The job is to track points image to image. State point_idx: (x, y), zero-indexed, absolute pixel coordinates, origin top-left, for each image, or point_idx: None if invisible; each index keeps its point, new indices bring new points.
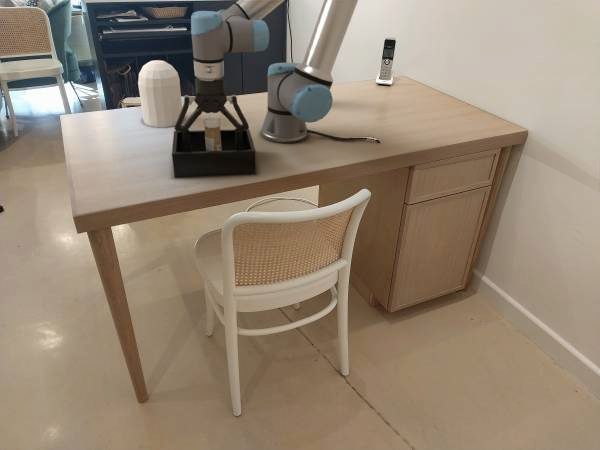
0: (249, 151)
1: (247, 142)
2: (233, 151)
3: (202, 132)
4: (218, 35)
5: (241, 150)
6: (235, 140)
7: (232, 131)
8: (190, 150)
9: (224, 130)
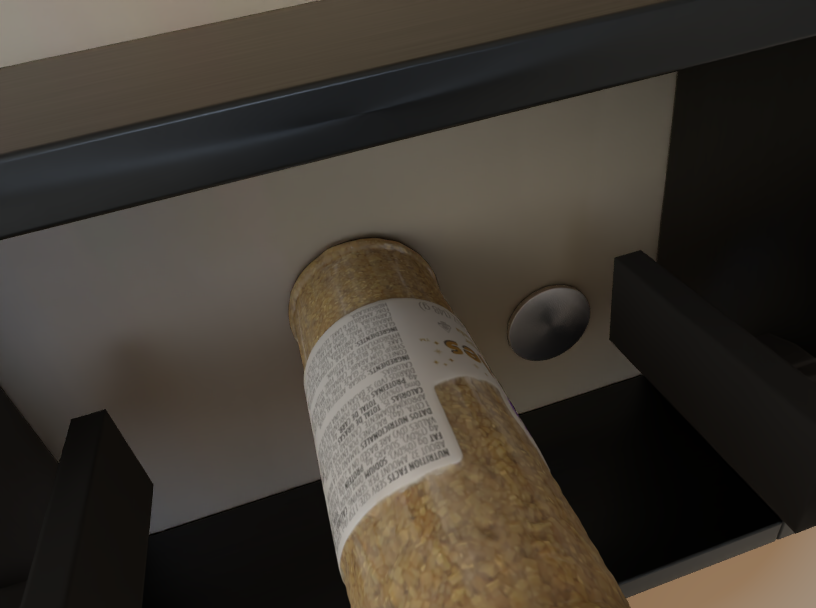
0: (756, 547)
1: (799, 133)
2: (631, 595)
3: (152, 195)
4: None
5: (700, 560)
6: (695, 352)
7: (737, 54)
8: (148, 536)
9: (608, 68)
